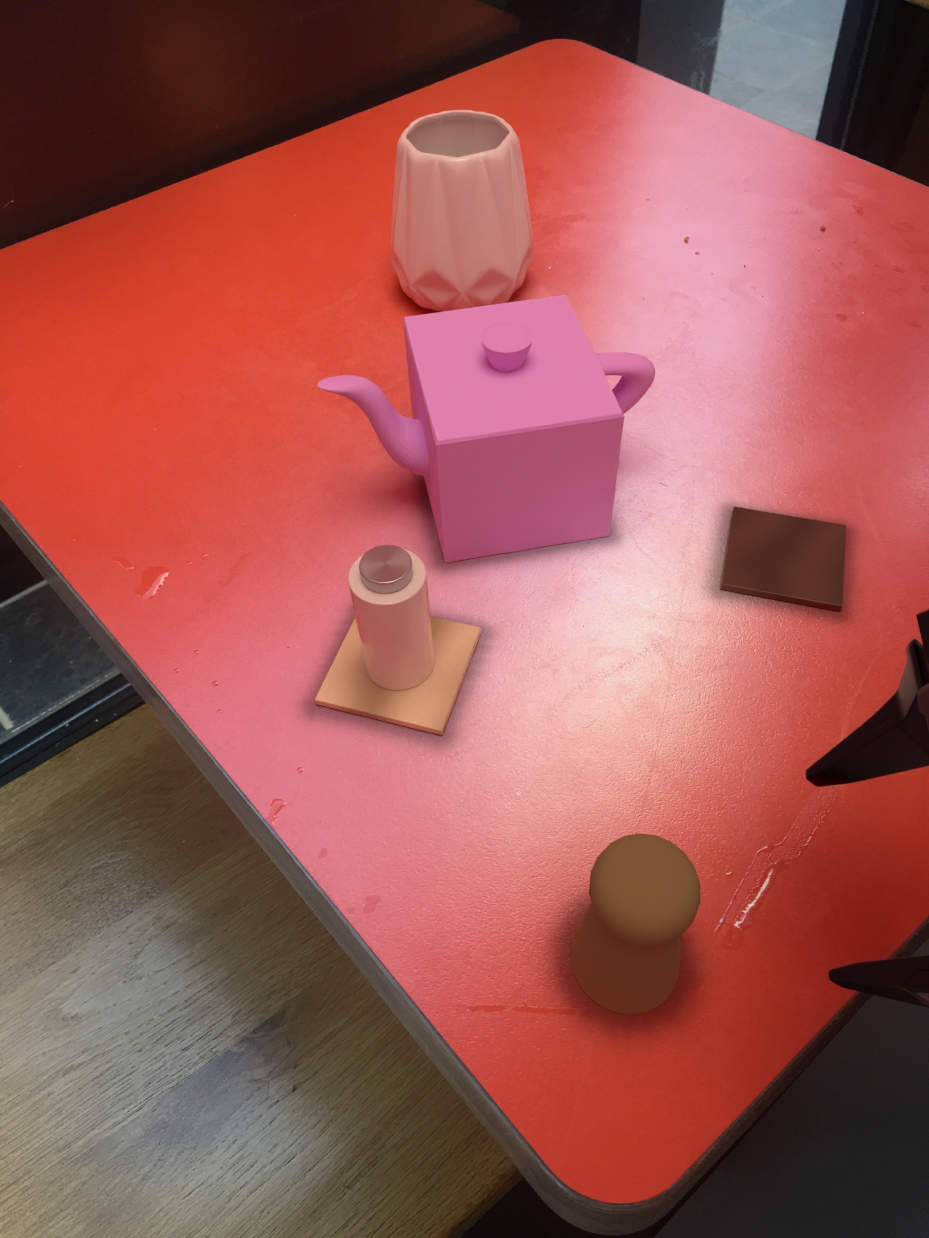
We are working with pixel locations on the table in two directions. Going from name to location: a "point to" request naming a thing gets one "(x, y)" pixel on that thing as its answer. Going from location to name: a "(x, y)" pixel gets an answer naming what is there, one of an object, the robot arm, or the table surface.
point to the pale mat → (411, 706)
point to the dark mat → (785, 558)
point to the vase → (460, 211)
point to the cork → (635, 923)
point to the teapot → (508, 424)
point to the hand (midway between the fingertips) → (820, 872)
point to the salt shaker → (393, 616)
